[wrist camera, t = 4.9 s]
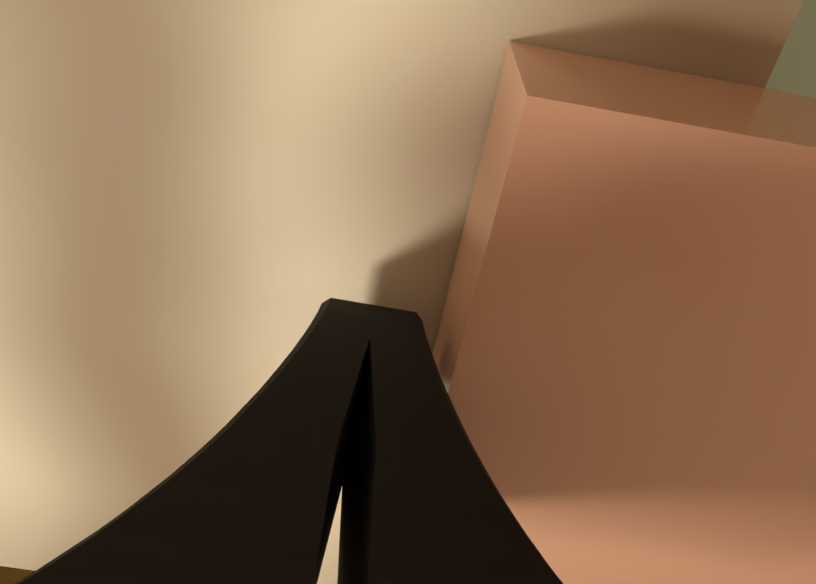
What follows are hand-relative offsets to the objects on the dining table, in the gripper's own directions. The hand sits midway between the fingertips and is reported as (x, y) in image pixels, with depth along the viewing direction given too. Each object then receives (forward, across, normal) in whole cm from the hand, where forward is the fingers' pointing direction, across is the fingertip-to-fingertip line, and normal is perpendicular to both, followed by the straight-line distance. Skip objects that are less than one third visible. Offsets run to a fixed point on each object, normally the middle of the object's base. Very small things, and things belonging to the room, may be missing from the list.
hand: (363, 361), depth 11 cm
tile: (+1, -4, 0) cm, 4 cm away
